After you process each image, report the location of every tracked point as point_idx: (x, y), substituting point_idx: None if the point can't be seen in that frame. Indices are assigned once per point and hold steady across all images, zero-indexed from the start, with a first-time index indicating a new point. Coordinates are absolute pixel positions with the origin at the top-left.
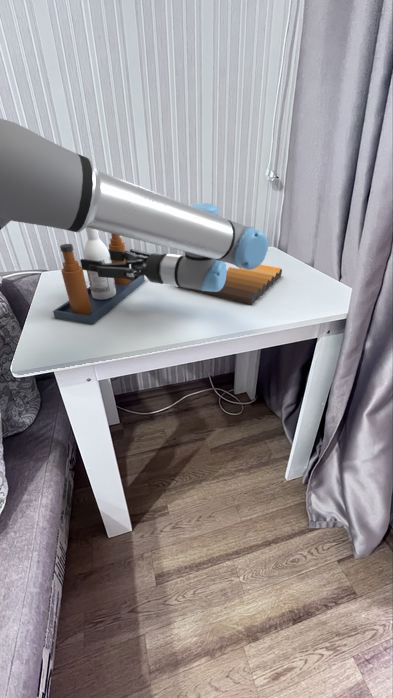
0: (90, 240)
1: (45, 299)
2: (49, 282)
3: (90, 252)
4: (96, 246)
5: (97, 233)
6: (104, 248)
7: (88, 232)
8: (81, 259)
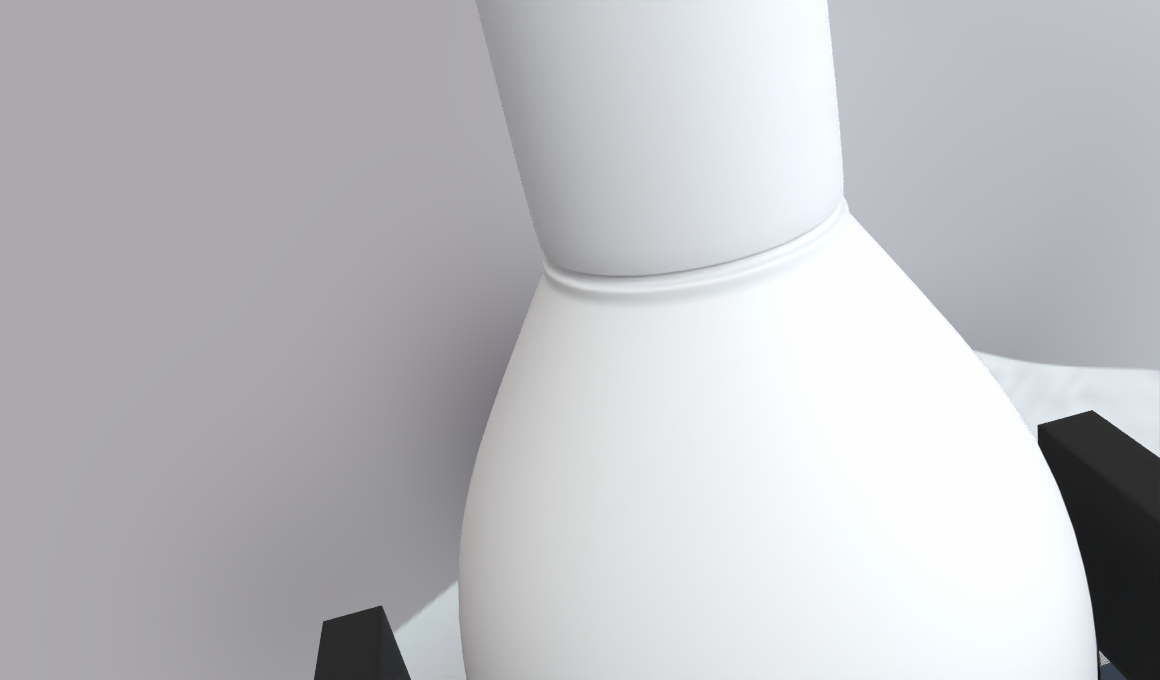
0: (548, 278)
1: (430, 653)
2: None
3: (472, 576)
4: (603, 493)
5: (728, 100)
6: (858, 604)
7: (492, 60)
8: (348, 623)
